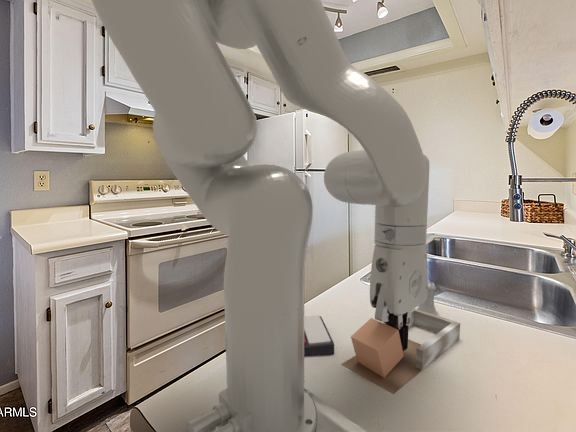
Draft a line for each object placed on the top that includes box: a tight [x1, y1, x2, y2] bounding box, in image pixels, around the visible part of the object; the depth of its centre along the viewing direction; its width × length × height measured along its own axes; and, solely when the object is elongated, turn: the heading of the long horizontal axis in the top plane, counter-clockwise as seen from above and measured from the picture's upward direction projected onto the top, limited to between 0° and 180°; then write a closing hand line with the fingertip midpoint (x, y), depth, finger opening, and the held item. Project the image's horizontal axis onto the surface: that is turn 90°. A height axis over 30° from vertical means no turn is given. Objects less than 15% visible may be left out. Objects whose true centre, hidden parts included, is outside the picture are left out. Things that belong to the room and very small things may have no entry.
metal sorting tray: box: [340, 308, 461, 395], centre depth 52 cm, size 22×9×4 cm, turn 131°
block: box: [350, 317, 404, 378], centre depth 48 cm, size 5×5×5 cm
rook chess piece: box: [416, 280, 438, 316], centre depth 67 cm, size 4×4×8 cm
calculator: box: [304, 315, 335, 357], centre depth 56 cm, size 11×4×15 cm
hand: (395, 347), depth 50 cm, fingers closed
